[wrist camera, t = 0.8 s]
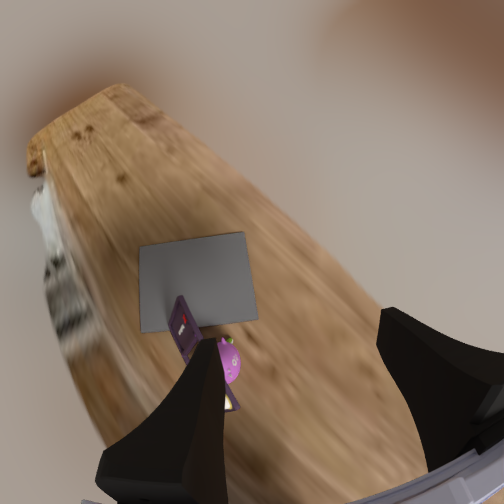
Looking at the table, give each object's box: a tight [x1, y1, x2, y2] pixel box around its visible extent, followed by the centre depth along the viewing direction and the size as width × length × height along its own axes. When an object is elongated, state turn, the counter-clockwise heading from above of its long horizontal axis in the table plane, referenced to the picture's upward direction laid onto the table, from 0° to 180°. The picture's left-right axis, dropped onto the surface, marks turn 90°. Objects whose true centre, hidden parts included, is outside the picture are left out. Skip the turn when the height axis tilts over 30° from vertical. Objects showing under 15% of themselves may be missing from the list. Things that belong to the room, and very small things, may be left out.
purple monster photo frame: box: [168, 295, 241, 412], centre depth 22 cm, size 7×5×9 cm
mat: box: [139, 232, 259, 333], centre depth 28 cm, size 9×11×1 cm
